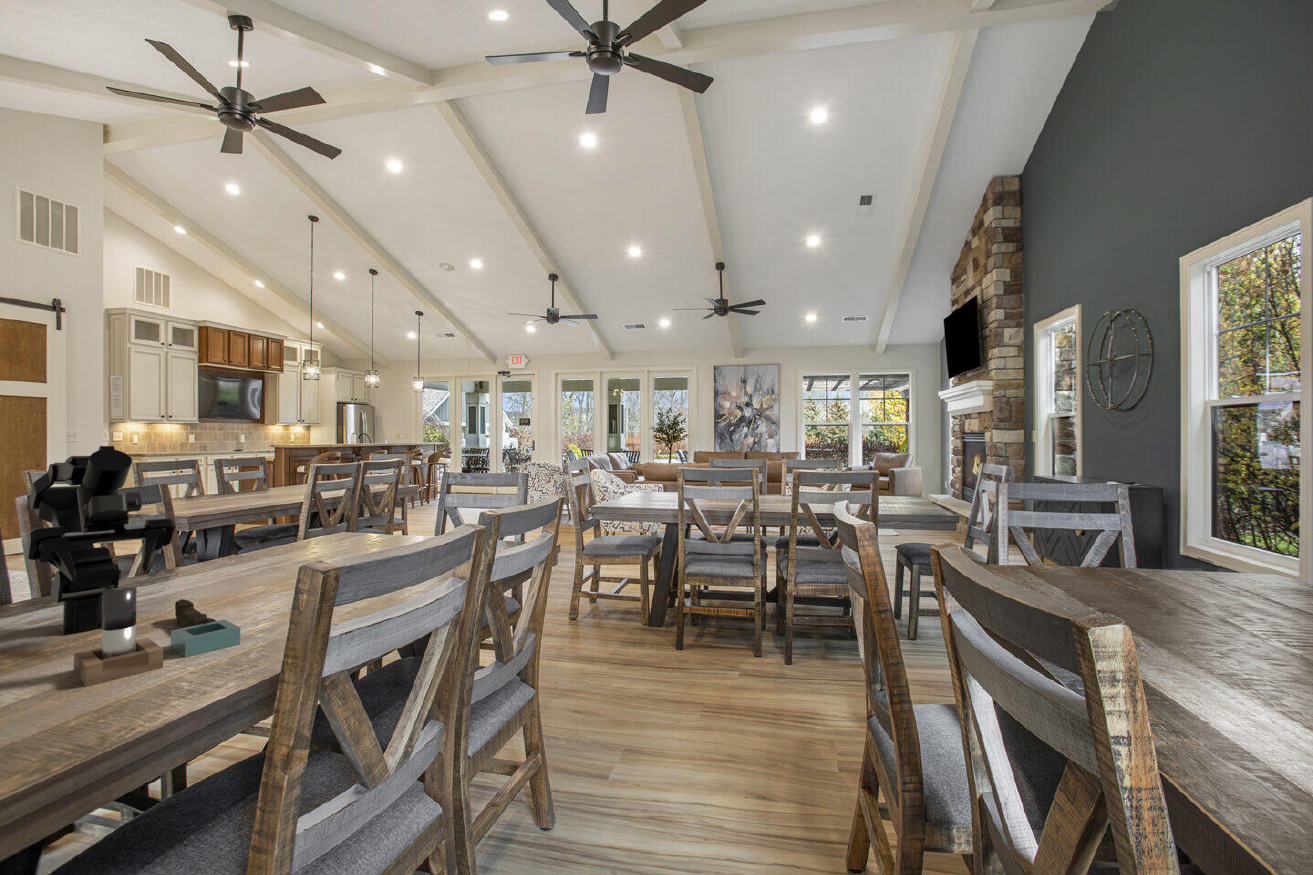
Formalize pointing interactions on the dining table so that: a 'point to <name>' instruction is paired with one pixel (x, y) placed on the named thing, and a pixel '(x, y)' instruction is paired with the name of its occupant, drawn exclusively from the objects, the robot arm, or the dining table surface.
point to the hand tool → (189, 614)
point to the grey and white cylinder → (118, 622)
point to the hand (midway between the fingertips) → (111, 574)
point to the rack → (117, 663)
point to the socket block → (205, 637)
